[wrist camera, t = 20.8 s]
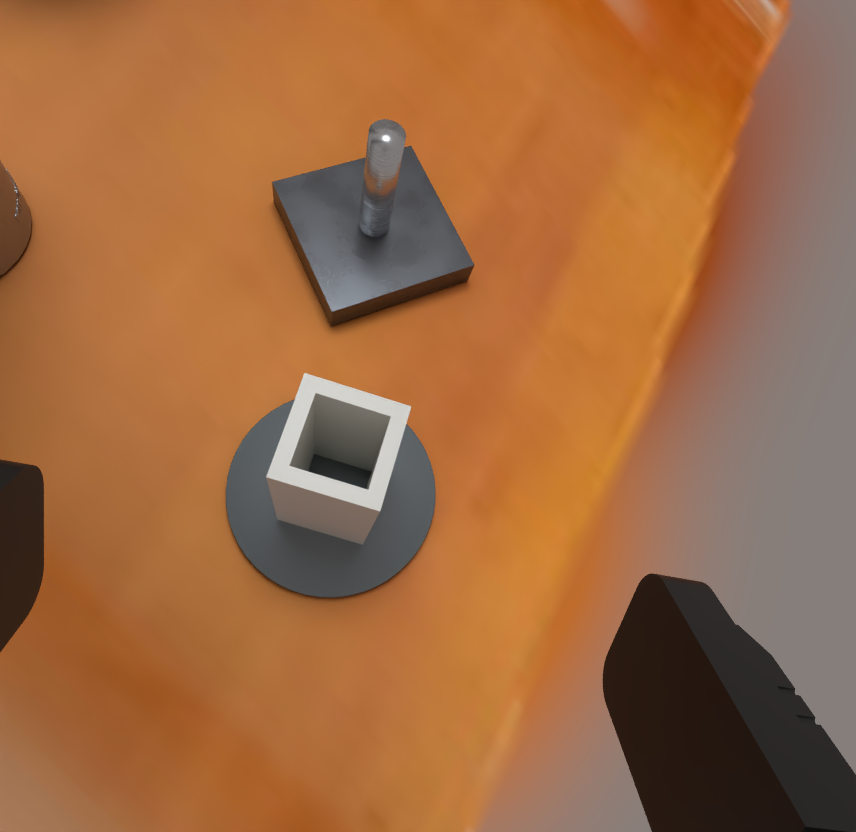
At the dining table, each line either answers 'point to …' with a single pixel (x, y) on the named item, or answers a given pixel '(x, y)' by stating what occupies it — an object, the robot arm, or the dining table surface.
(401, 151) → the post stand
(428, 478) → the mat
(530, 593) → the dining table surface
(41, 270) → the dining table surface
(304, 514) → the sleeve
